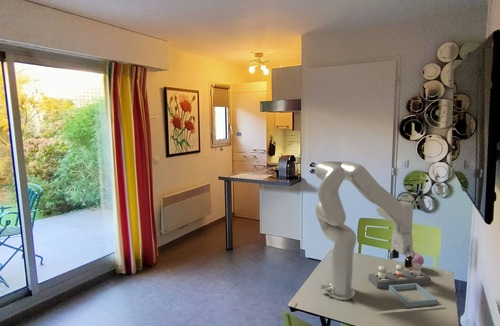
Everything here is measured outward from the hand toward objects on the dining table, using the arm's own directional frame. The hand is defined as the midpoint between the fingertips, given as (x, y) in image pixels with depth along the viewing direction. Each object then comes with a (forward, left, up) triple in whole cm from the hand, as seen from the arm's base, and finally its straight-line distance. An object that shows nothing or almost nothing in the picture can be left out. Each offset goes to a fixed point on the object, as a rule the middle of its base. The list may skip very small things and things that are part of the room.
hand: (401, 262), depth 152 cm
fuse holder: (-1, 0, -11) cm, 11 cm away
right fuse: (+8, 0, -10) cm, 13 cm away
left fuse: (-10, 0, -10) cm, 14 cm away
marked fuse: (-1, 0, -10) cm, 10 cm away
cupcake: (+14, +10, -11) cm, 21 cm away
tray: (-3, -13, -11) cm, 17 cm away
